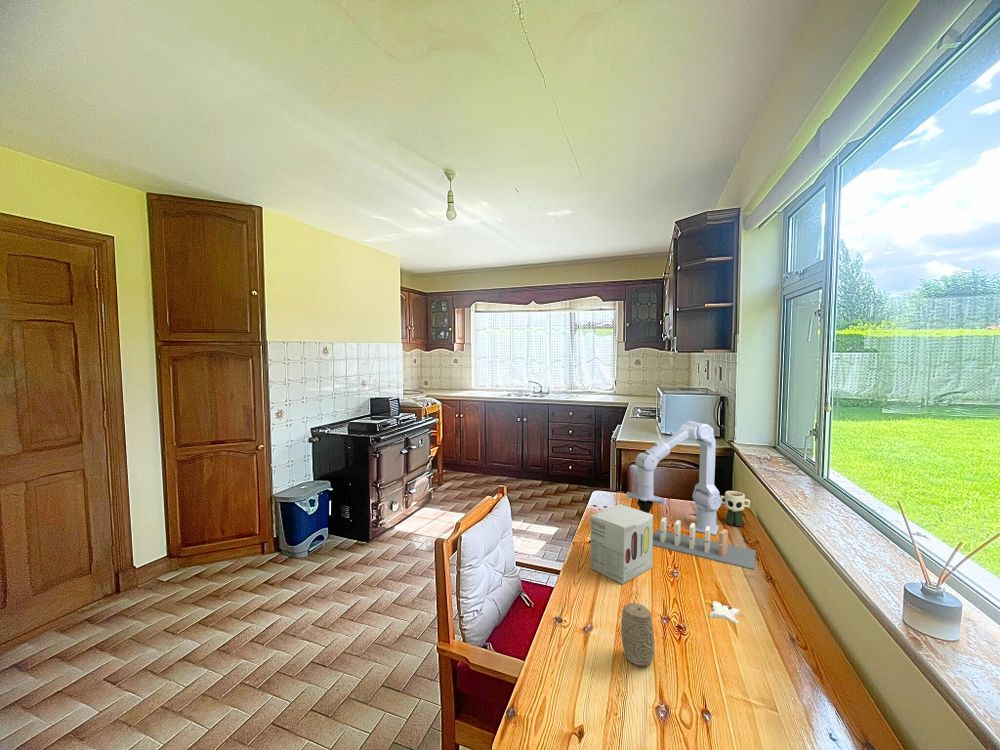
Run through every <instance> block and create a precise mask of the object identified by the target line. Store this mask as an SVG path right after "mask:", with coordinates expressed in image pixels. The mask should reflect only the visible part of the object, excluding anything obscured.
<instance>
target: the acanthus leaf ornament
mask: <svg viewBox="0 0 1000 750" xmlns="http://www.w3.org/2000/svg"><path fill="white" fill-rule="evenodd" d="M711 606H712V611H710V612H709V618H710V619H711V618H714V619H716V618H717V619H724V620H728V621H730V622H732V623H733V624H736V625H737V624H739V623H740V622H739V621H738V620H737V619H736V618H735V617H736V616H738V615H739V613H740V612H741V611H740V609H739V608H738V609H737V608H734V607H733V608H730V609H729V607H728V606H727V605H724V604H722V603H721V602H718V601H716V600H714V601H712V605H711Z"/></svg>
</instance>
